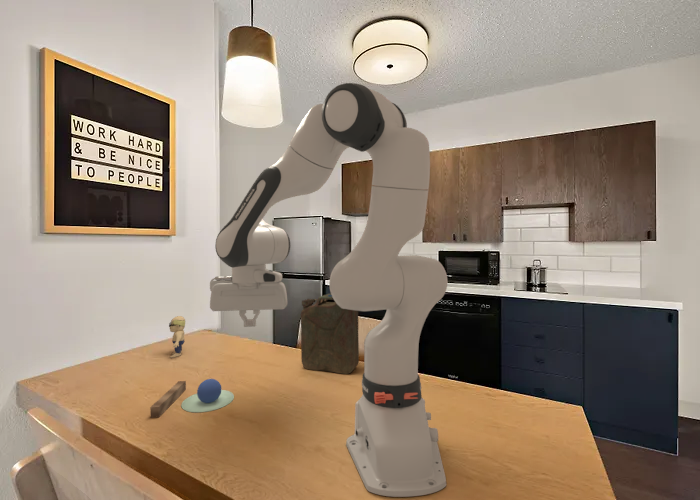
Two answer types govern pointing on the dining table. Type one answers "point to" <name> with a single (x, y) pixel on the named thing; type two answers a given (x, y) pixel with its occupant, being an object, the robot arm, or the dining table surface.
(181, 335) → the toy
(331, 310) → the canister
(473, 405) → the dining table surface
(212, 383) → the ball
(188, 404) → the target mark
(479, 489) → the dining table surface
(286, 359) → the dining table surface
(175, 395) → the brown bar
